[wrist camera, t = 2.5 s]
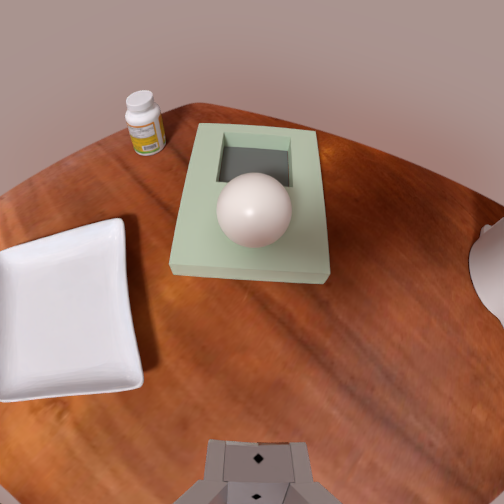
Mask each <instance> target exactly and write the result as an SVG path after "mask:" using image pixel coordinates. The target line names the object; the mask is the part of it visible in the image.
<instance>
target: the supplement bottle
mask: <svg viewBox="0 0 504 504" xmlns="http://www.w3.org/2000/svg"><path fill="white" fill-rule="evenodd" d="M126 104H127V108H128V110H127V112H126V114H125V118H126V123H127V126H128V129H129V133H130V136H131V140H132V143H133V147H134V149H135V151H136V152H137V153H138V154H140V155H144V156H148V155H153V154H156V153H158V152H160V151H161V150H162V149H163V148H164V146H165V144H166V137H165V132H164V127H163V121H162V115H161V110H160V107H159V105H158V104H157V103H155V102H154V98H153V94H152V92H150V91H147V90H141V91H137V92H135V93H133V94H131V95H130V96H129V97H128V98H127V99H126Z"/></svg>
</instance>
